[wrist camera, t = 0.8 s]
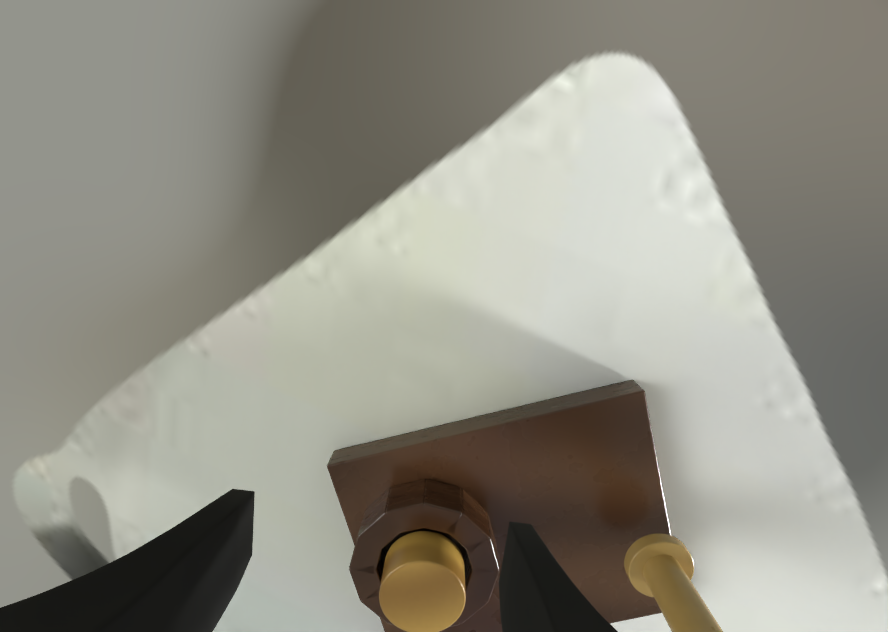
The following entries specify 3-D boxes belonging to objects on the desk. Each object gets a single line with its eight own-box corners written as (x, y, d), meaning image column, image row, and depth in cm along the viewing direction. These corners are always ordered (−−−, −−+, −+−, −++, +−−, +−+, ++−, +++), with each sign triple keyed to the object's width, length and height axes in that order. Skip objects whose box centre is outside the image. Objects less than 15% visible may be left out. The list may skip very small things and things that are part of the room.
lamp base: (671, 585, 26) (705, 644, 22) (399, 642, 27) (392, 706, 23) (632, 378, 23) (664, 408, 20) (333, 450, 24) (314, 490, 21)
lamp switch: (473, 589, 22) (474, 625, 20) (397, 605, 22) (392, 642, 20) (453, 522, 21) (453, 553, 19) (374, 539, 22) (367, 572, 20)
